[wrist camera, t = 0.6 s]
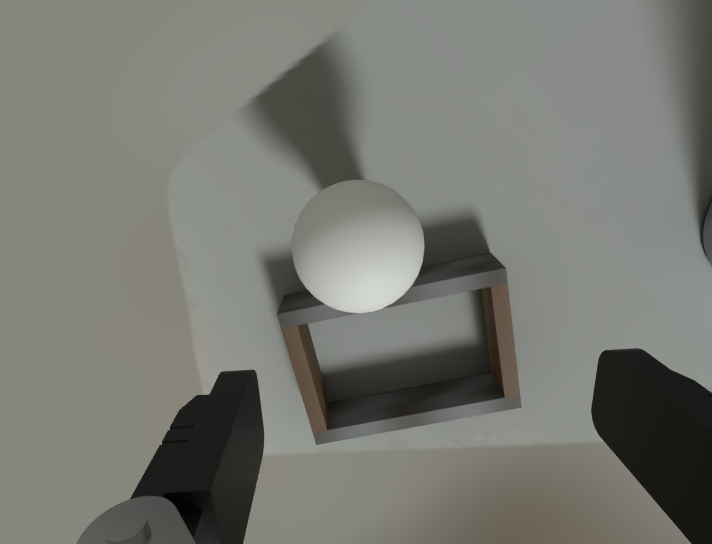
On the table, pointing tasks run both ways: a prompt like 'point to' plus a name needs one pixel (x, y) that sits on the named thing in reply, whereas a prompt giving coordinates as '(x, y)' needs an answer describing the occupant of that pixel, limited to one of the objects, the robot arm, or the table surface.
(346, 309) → the lightbulb
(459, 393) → the brown wooden shallow box
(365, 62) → the table surface
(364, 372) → the table surface
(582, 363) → the table surface
